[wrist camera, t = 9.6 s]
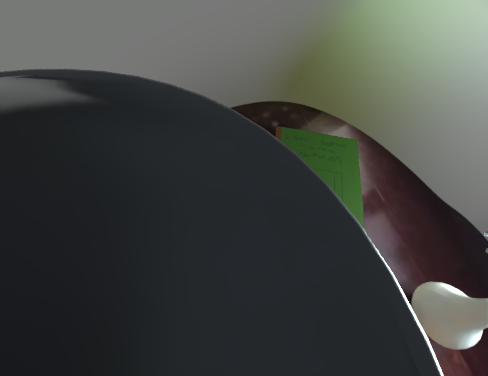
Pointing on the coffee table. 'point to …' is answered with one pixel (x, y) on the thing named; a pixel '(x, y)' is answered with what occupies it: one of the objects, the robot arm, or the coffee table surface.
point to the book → (330, 163)
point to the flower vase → (450, 314)
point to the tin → (179, 243)
